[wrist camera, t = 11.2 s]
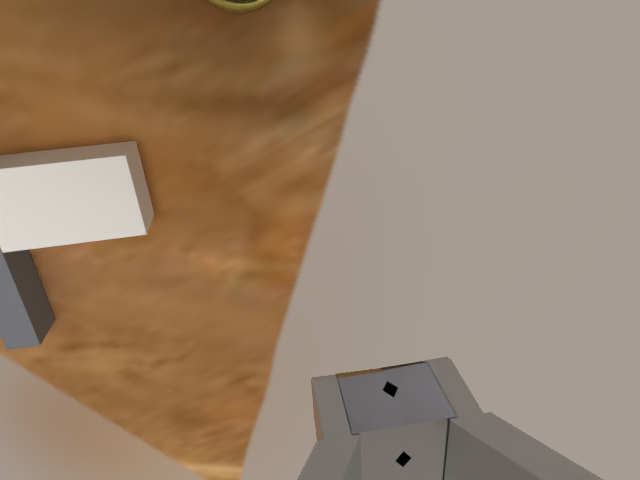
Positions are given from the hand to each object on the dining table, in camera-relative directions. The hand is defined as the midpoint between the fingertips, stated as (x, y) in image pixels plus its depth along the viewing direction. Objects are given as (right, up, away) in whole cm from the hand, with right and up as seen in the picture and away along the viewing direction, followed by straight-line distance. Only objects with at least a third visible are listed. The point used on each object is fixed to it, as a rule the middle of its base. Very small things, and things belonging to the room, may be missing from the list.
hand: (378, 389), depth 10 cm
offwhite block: (-20, +7, +26) cm, 34 cm away
